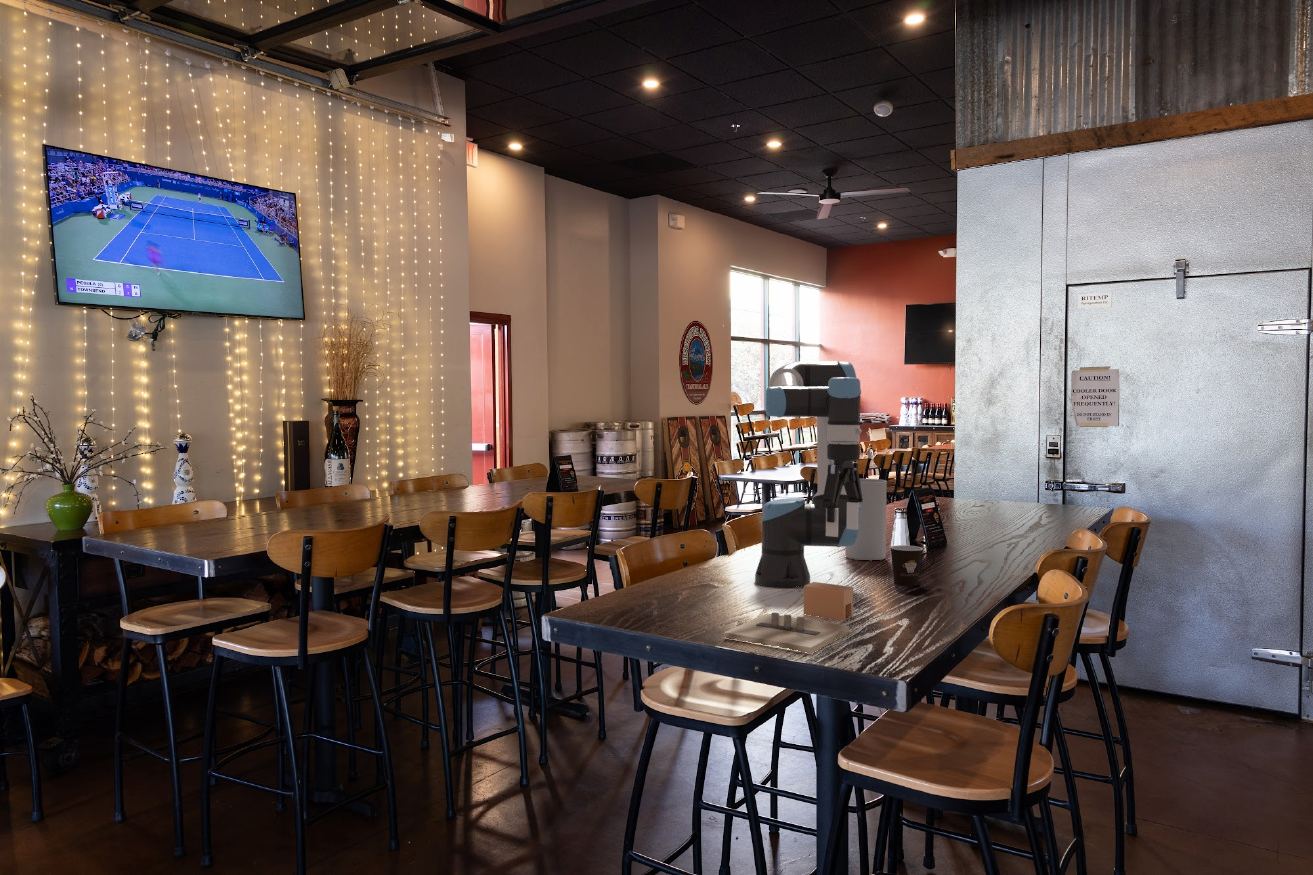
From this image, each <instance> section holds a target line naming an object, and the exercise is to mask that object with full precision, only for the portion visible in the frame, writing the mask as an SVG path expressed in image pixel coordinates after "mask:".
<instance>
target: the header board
mask: <svg viewBox="0 0 1313 875" xmlns="http://www.w3.org/2000/svg"><path fill="white" fill-rule="evenodd" d="M779 614H780V613H779V612H771V613H768V612H767V613H765V614H762V615H760V616H758V617H755V618H754V619H751V620H749V621H746V622H744V623H742V624H740V625H737V626H735V627H733V628H731V629H728V630H726V631H724V632H723V638H724V637H726V638H729V639H737V640H741V641H748V642H752V643H761V644H763V645H771V646H779V647H782V648H789V649H792V650H798V651H801V652H807V653H811V654H812V653H813V652H815V651H817V650H819V649H820V648H822V647H824V646H826V645H828V644H829V643H831V644H832V642H833V641H835V640H836V639H838V640H839V638H840V637H841V638H843V637H845V636H847V635H848V634H850V625H843V624H837V623H831V622H825V621H818V620H812V619H805V617H804V616H801V615H800V616H796V617H793V616H792V615H791V614H784V615H781V614H780V615H779ZM847 633H848V634H847ZM846 634H847V635H846ZM844 635H845V636H844ZM841 638H840V639H841ZM836 641H837V640H836ZM836 641H835V642H836ZM833 643H834V642H833ZM829 645H830V644H829ZM829 645H828V646H829ZM826 647H827V646H826ZM824 648H825V647H824ZM822 649H823V648H822ZM819 651H820V650H819ZM817 652H818V651H817ZM812 655H813V654H812Z"/></svg>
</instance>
